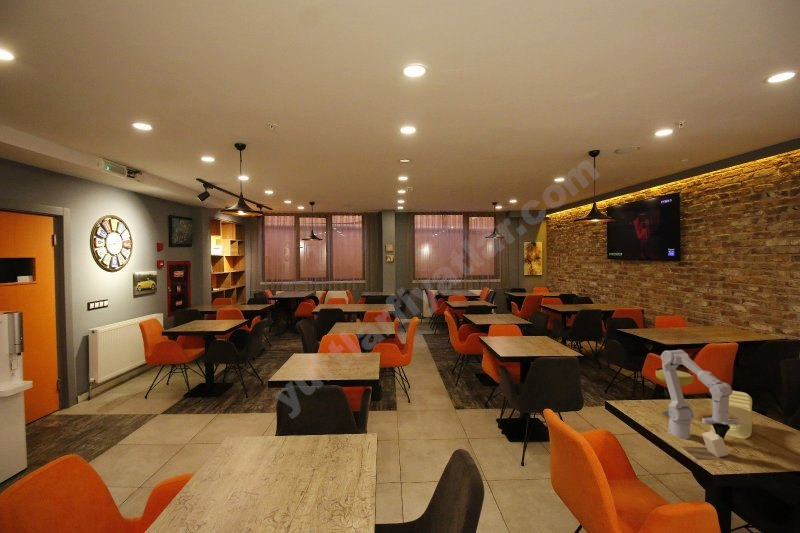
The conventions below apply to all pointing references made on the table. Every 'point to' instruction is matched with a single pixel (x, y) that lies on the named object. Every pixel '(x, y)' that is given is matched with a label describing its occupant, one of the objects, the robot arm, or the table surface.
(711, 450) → the carton
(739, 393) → the slatted curved stool
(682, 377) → the cocktail glass
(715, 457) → the brown flat slab
